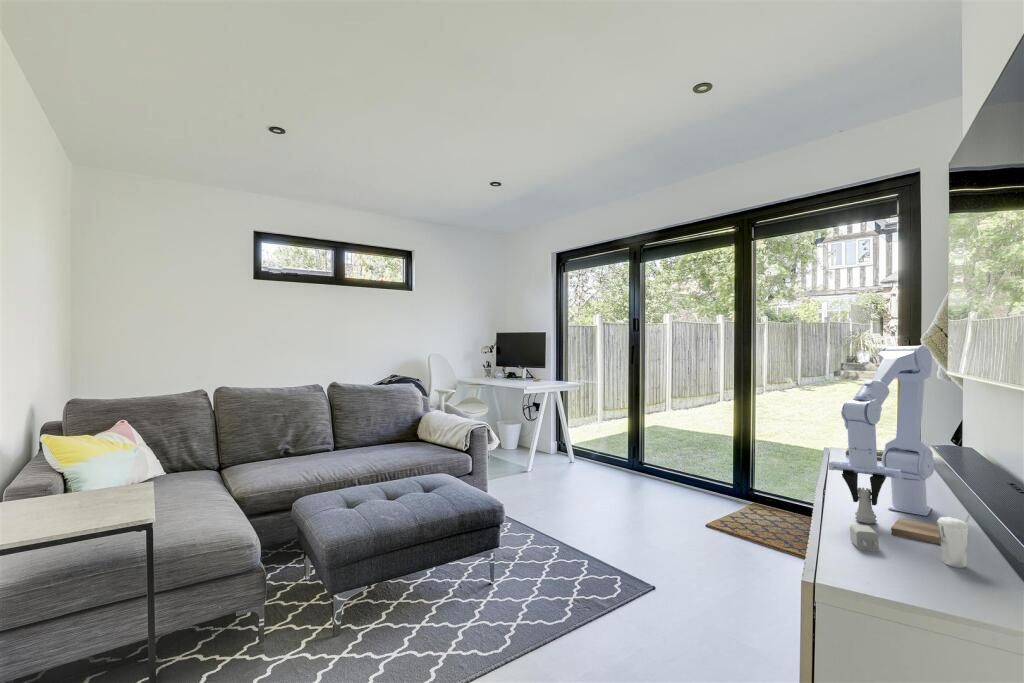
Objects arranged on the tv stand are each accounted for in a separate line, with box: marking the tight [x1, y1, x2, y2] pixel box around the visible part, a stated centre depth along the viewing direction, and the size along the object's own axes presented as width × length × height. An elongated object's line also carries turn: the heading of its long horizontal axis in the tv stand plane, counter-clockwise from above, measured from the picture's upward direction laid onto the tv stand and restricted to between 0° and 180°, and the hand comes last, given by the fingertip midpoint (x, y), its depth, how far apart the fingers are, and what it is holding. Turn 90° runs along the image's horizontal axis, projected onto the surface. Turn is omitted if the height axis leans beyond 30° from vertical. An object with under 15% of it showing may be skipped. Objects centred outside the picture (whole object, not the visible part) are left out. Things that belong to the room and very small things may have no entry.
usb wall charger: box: [849, 524, 880, 552], centre depth 103 cm, size 4×7×4 cm, turn 159°
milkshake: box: [936, 513, 971, 569], centre depth 94 cm, size 4×5×10 cm
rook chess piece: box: [854, 487, 878, 525], centre depth 119 cm, size 4×4×8 cm
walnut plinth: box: [890, 517, 941, 545], centre depth 110 cm, size 10×10×2 cm
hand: (865, 502), depth 119 cm, fingers closed on rook chess piece, 3 cm apart
